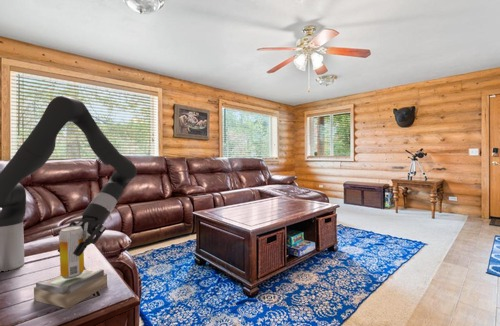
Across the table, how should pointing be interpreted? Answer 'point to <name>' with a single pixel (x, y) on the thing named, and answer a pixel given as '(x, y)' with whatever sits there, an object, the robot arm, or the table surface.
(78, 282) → the square tray
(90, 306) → the table surface
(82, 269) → the beer can
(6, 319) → the table surface
